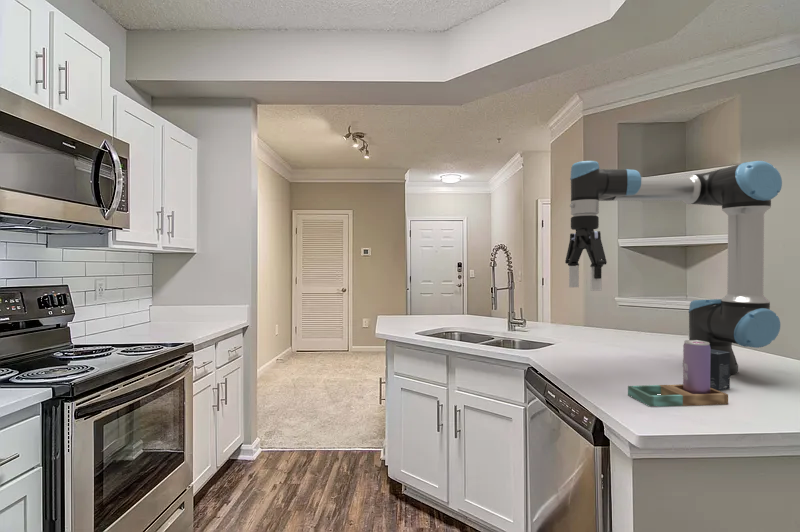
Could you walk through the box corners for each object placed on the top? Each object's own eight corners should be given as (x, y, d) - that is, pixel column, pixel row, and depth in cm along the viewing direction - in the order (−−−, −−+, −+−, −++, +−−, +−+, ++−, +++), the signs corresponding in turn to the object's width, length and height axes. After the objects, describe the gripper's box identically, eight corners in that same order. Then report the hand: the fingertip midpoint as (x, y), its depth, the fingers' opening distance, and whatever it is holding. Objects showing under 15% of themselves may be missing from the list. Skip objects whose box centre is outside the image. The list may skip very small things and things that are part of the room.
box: (730, 389, 128) (730, 351, 128) (718, 392, 126) (718, 353, 126) (701, 382, 135) (701, 346, 135) (689, 384, 133) (689, 348, 133)
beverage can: (714, 403, 116) (715, 344, 116) (688, 401, 117) (688, 343, 117) (703, 396, 122) (704, 340, 122) (679, 394, 123) (679, 339, 123)
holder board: (700, 392, 125) (700, 383, 125) (728, 404, 115) (728, 394, 115) (627, 395, 123) (627, 385, 123) (649, 406, 114) (649, 396, 114)
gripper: (554, 219, 145) (554, 286, 145) (593, 211, 120) (592, 292, 120) (577, 219, 145) (577, 285, 146) (620, 211, 120) (620, 291, 121)
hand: (584, 288), depth 133 cm, fingers open, 13 cm apart
